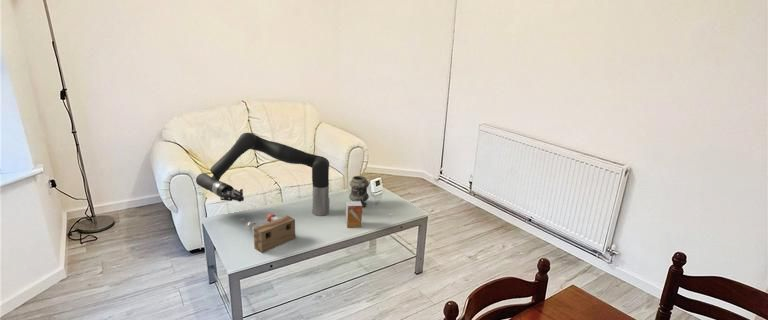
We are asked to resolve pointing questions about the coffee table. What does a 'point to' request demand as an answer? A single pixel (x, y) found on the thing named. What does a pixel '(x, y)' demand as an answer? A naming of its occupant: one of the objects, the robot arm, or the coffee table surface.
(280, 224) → the walnut housing
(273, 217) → the red plunger
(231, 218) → the coffee table surface
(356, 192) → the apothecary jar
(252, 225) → the grey plunger
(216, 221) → the coffee table surface
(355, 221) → the small box
